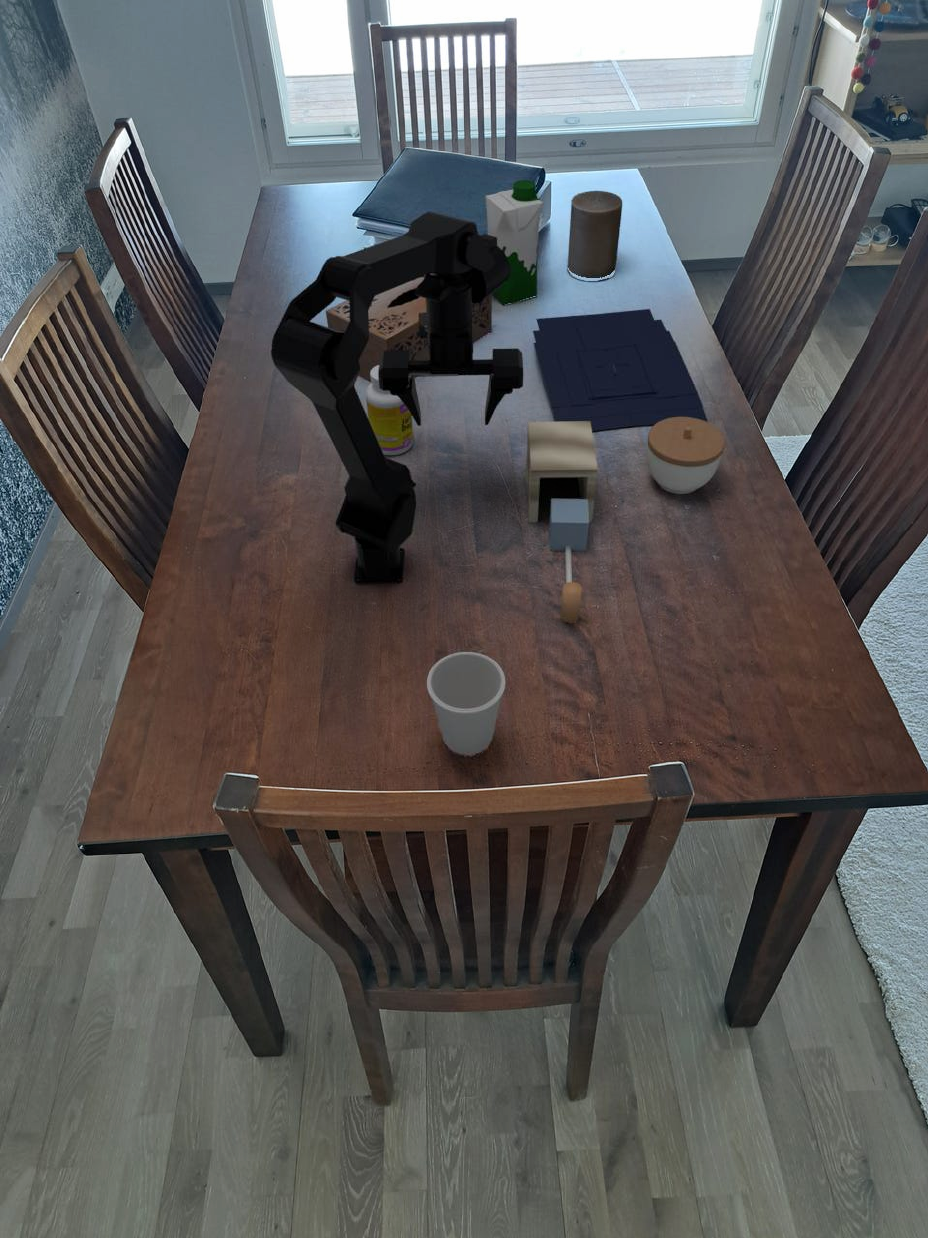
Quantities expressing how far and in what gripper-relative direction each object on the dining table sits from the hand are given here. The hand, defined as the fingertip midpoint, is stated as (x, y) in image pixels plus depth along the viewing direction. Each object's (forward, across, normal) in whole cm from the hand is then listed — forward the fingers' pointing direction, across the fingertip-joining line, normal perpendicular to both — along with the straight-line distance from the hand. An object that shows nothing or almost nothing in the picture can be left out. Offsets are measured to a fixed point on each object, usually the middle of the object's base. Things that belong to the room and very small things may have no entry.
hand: (453, 423), depth 125 cm
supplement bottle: (+12, +10, -12) cm, 20 cm away
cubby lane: (+12, -15, +2) cm, 19 cm away
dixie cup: (+12, -2, +44) cm, 46 cm away
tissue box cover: (+12, +8, -41) cm, 44 cm away
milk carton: (+12, -10, -60) cm, 62 cm away
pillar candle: (+12, -26, -69) cm, 75 cm away
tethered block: (+12, -15, +17) cm, 26 cm away
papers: (+12, -26, -30) cm, 42 cm away
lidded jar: (+12, -33, -2) cm, 35 cm away
